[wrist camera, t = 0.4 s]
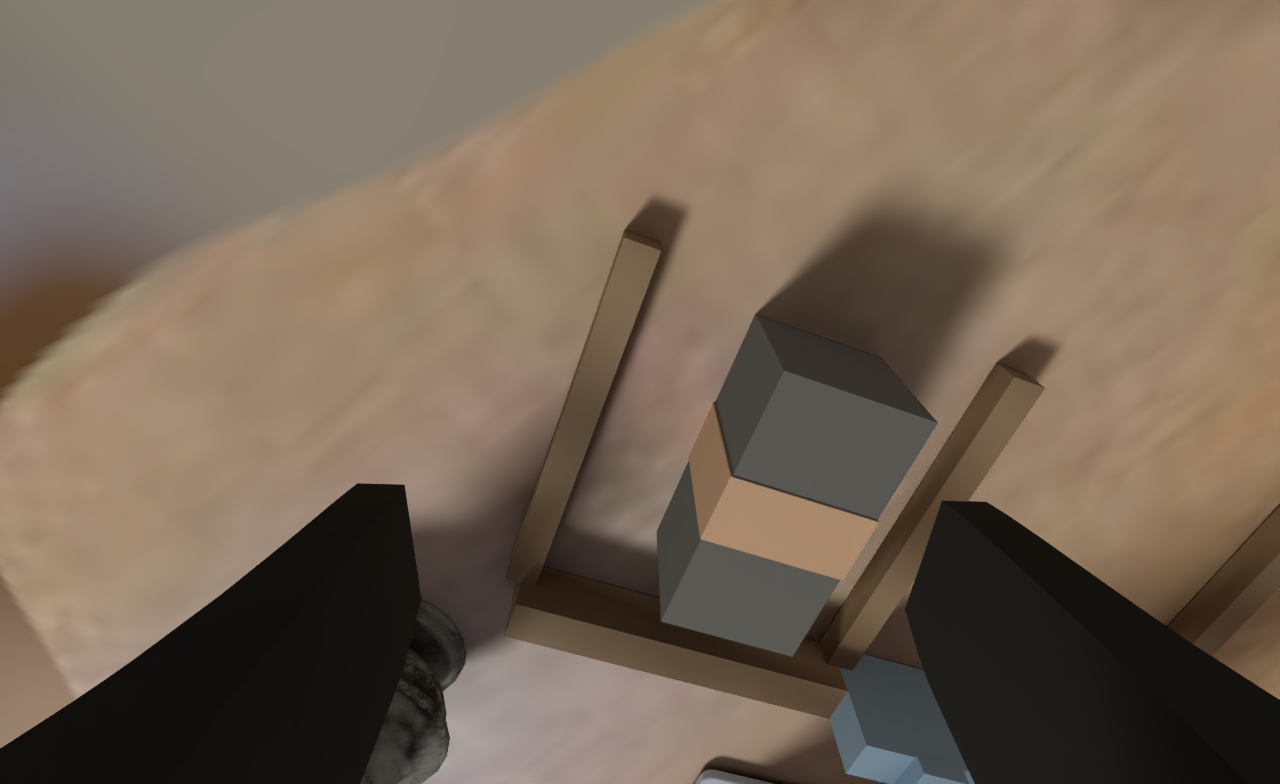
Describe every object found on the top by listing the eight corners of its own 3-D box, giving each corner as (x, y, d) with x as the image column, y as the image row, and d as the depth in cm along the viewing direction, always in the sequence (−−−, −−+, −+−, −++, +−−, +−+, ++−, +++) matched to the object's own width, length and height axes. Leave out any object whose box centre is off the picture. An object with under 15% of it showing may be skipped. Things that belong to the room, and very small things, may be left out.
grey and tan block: (768, 563, 23) (794, 658, 19) (655, 530, 22) (659, 622, 18) (881, 358, 19) (940, 424, 16) (753, 313, 19) (782, 370, 15)
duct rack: (1084, 745, 27) (1168, 869, 22) (499, 590, 23) (469, 704, 19) (1331, 483, 21) (1500, 582, 17) (624, 229, 18) (621, 276, 14)
